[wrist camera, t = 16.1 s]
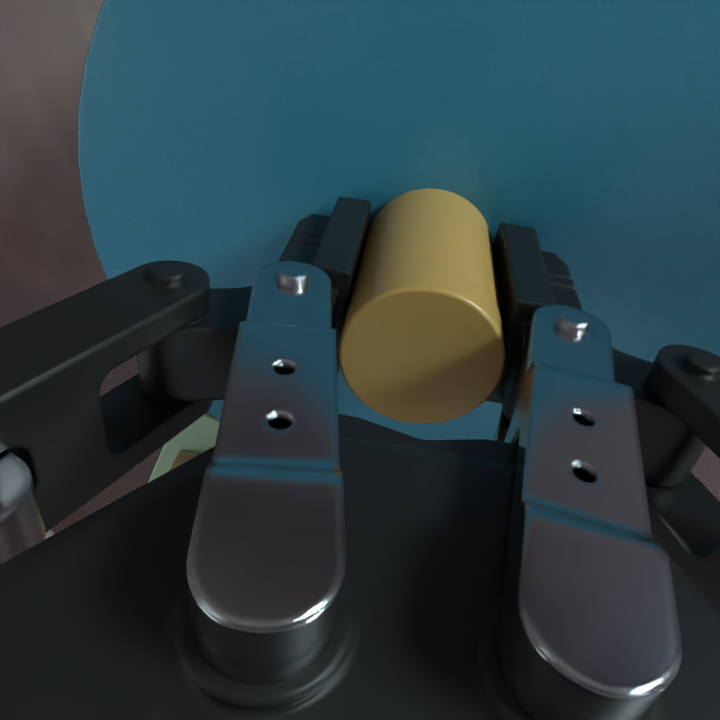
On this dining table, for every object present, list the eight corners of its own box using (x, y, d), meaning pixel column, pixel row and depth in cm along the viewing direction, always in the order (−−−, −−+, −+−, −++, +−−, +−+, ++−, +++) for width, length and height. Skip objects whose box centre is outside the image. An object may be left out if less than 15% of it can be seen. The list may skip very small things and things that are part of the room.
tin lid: (1016, 80, 12) (1373, 178, 7) (514, 536, 21) (531, 708, 16) (232, -493, 9) (3, -930, 4) (46, 324, 18) (-91, 460, 13)
